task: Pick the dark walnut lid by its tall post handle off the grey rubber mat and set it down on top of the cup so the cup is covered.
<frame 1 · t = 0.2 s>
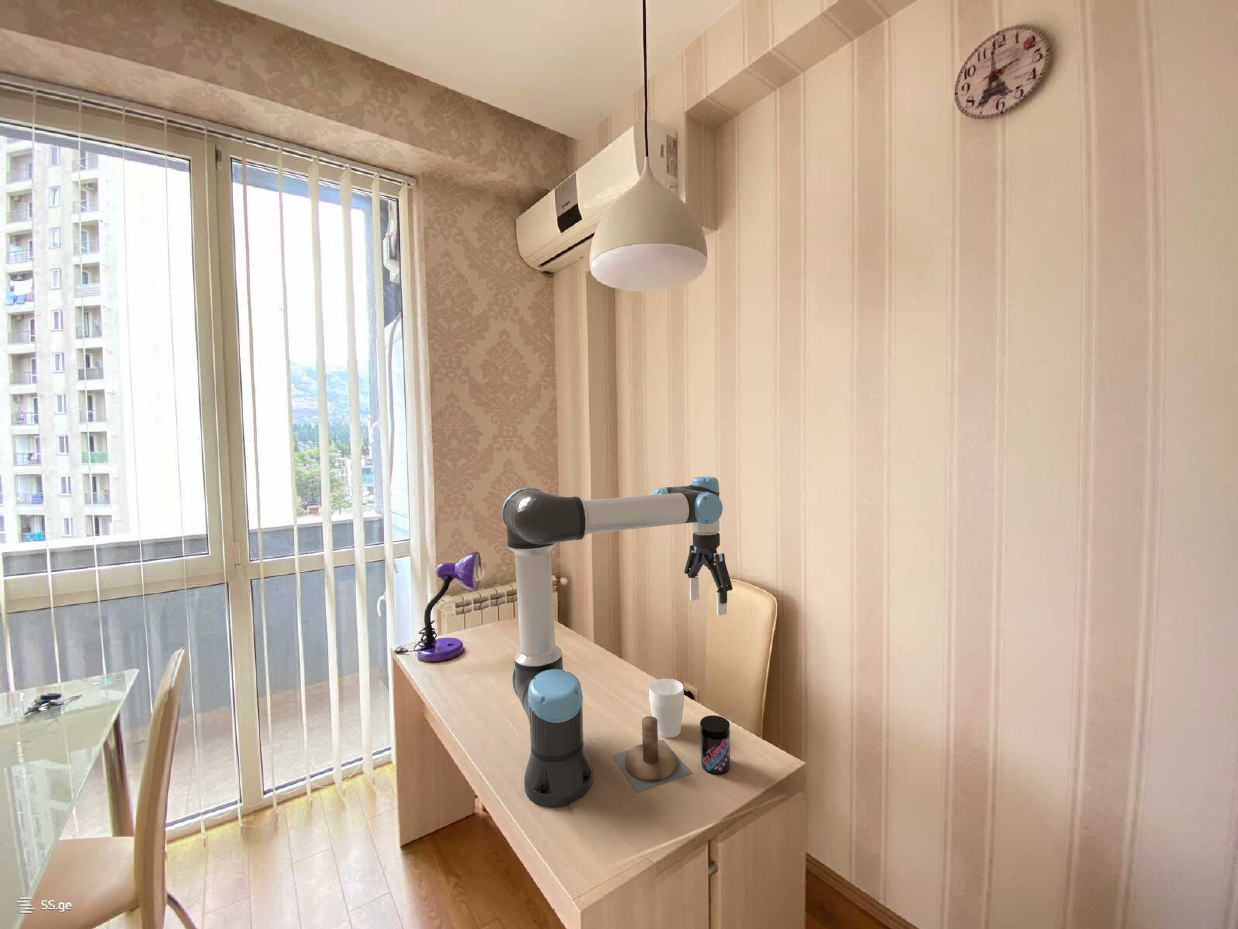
hand: (707, 607, 143), 28 cm above the table, fingers open, 13 cm apart
supplement container: (715, 768, 117), on the table
mat: (650, 765, 118), on the table
lid: (650, 764, 118), resting on mat
cup: (667, 732, 131), on the table
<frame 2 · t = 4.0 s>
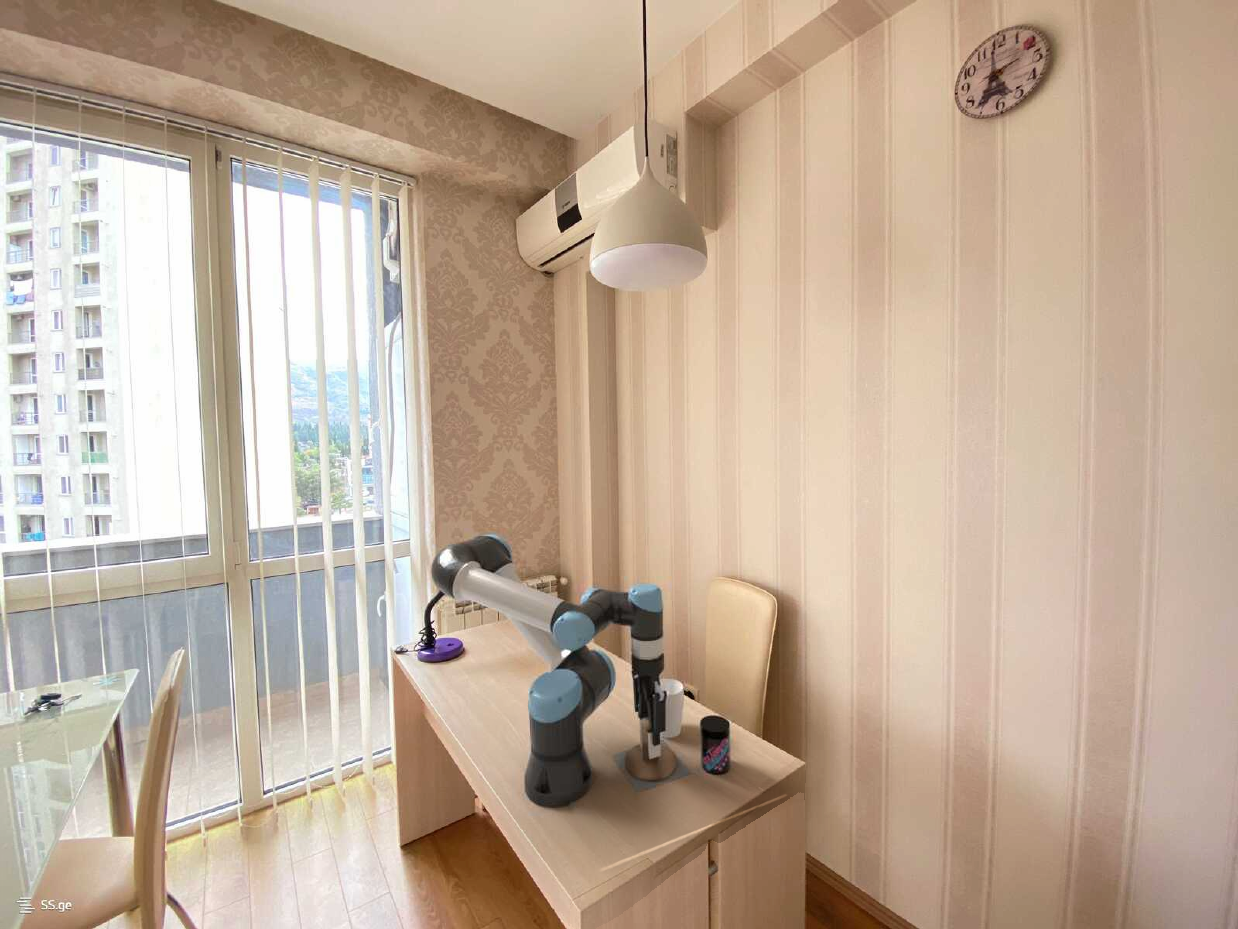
hand: (650, 751, 118), 4 cm above the table, fingers closed on lid, 4 cm apart
lid: (650, 764, 118), resting on mat, touching gripper
everything else where it was.
when the fingers open (16 cm above the table, at t = 7.2 s): lid stays where it is, resting on cup.
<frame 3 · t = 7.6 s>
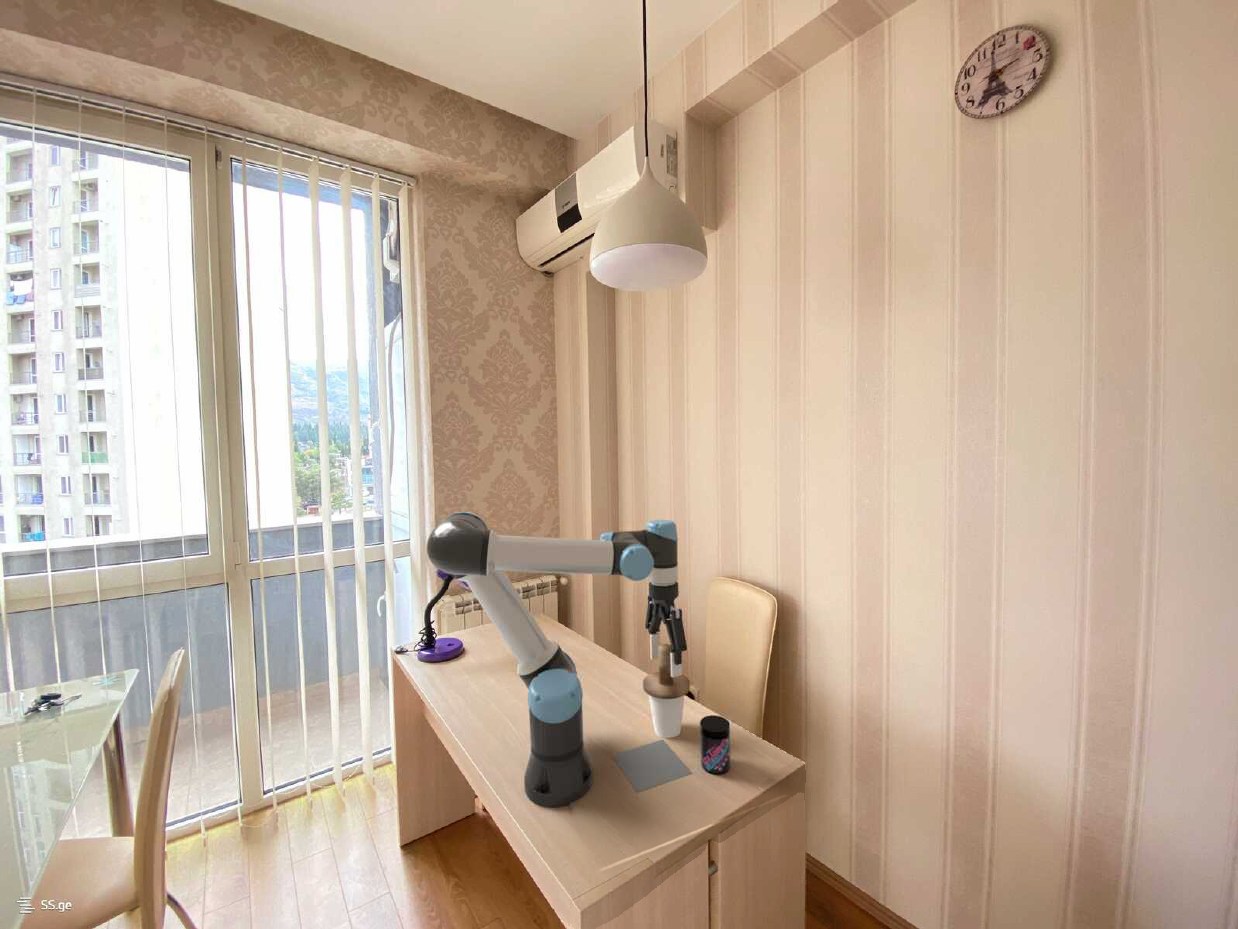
hand: (665, 666, 130), 17 cm above the table, fingers open, 10 cm apart
lid: (666, 686, 130), point 12 cm above the table, touching cup
cup: (667, 732, 131), on the table, touching lid
everything else where it was.
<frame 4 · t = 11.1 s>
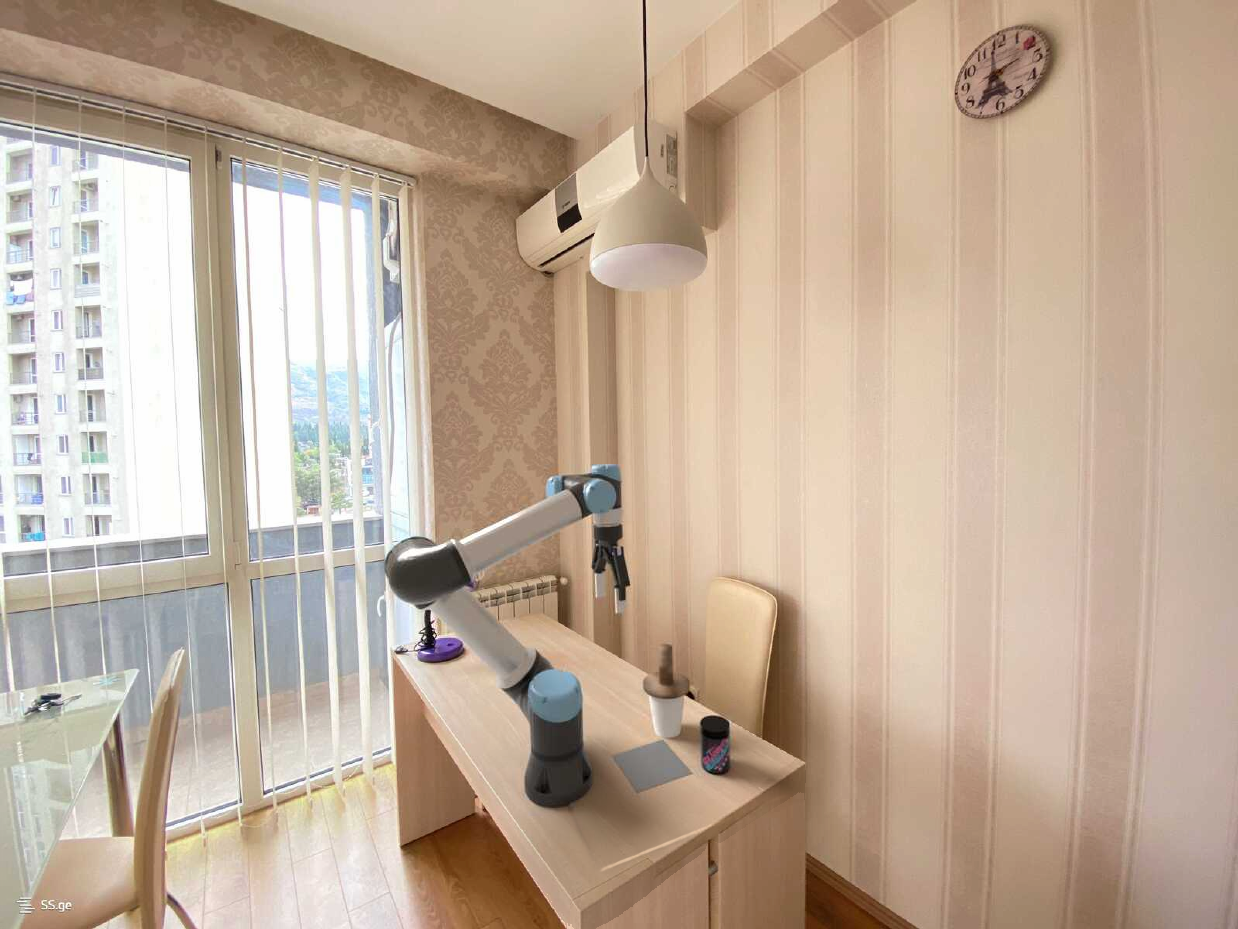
hand: (610, 604, 133), 33 cm above the table, fingers open, 13 cm apart
nothing on the table moved.
at the end: lid 0.0 cm from the cup (horizontally); lid point 12.0 cm above the table; cup tilted 0° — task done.
